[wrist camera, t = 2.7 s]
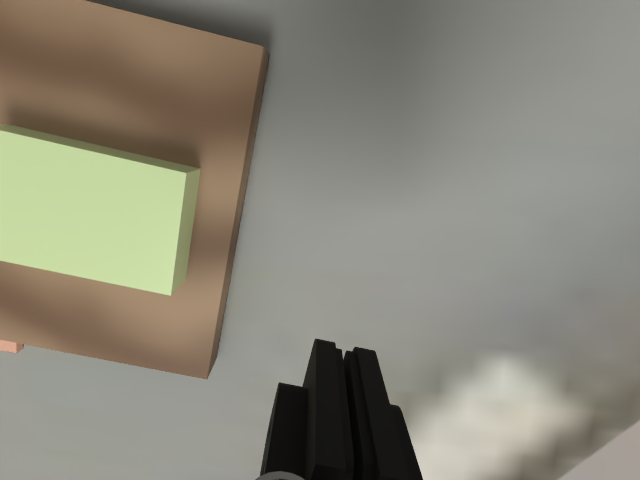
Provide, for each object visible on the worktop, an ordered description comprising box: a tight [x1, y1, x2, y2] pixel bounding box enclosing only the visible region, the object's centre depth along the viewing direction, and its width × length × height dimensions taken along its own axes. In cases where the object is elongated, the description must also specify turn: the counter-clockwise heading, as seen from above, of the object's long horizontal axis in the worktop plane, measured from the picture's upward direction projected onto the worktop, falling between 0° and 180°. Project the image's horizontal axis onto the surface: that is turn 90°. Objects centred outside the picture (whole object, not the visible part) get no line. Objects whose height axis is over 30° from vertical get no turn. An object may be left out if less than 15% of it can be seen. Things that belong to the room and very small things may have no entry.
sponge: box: [0, 125, 201, 296], centre depth 17 cm, size 6×9×2 cm, turn 77°
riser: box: [0, 0, 269, 379], centre depth 19 cm, size 18×12×2 cm, turn 167°
